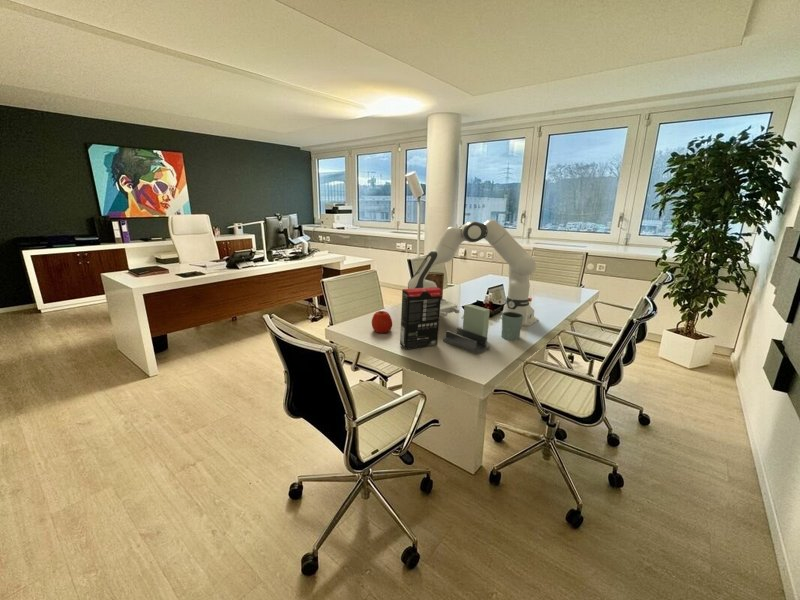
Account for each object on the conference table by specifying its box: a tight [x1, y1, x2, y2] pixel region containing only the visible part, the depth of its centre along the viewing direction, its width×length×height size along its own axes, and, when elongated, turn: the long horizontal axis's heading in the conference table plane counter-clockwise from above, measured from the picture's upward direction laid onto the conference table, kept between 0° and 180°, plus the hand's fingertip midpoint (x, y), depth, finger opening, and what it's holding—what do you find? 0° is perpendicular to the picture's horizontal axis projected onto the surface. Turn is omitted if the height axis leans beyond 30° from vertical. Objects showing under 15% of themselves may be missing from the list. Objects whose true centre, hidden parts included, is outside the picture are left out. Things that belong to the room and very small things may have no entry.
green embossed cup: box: [501, 312, 523, 341], centre depth 170 cm, size 10×10×12 cm
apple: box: [371, 310, 393, 334], centre depth 175 cm, size 11×11×11 cm
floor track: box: [442, 326, 490, 355], centre depth 159 cm, size 9×20×6 cm, turn 40°
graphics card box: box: [399, 287, 441, 350], centre depth 155 cm, size 17×7×27 cm, turn 114°
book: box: [425, 271, 445, 299], centre depth 203 cm, size 16×6×25 cm, turn 80°
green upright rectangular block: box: [462, 303, 491, 338], centre depth 167 cm, size 4×12×16 cm, turn 40°
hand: (452, 313), depth 177 cm, fingers open, 8 cm apart
